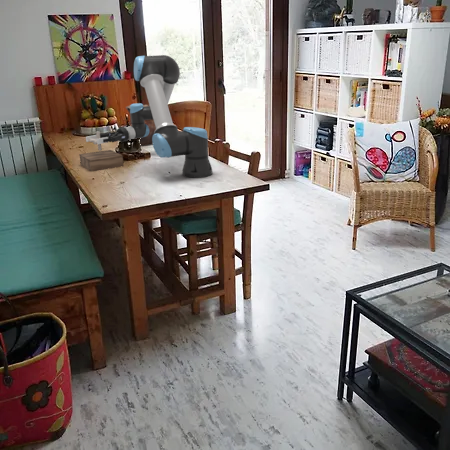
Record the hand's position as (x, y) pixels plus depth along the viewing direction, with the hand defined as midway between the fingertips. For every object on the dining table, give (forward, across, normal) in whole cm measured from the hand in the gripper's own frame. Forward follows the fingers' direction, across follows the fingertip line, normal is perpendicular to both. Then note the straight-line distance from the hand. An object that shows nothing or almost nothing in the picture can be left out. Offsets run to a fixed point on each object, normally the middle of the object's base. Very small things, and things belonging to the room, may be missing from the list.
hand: (91, 140), depth 248 cm
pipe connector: (-4, 0, -6) cm, 8 cm away
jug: (-57, +28, -15) cm, 66 cm away
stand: (-4, 0, -15) cm, 15 cm away
